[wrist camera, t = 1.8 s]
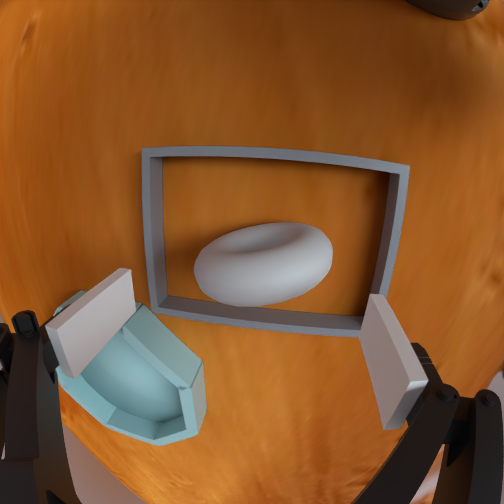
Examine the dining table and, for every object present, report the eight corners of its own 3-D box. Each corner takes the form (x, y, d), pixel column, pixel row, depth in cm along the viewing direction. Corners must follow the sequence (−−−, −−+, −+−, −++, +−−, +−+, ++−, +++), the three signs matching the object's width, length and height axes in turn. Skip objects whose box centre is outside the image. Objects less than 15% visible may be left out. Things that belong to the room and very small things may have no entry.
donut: (219, 264, 27) (180, 322, 17) (210, 228, 26) (164, 272, 16) (328, 249, 25) (344, 306, 15) (323, 211, 24) (340, 249, 14)
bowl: (200, 312, 29) (185, 337, 25) (209, 435, 37) (202, 457, 32) (47, 281, 32) (26, 295, 27) (87, 397, 39) (75, 413, 35)
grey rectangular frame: (399, 164, 21) (409, 165, 19) (369, 323, 27) (374, 337, 24) (155, 147, 24) (141, 147, 22) (161, 300, 29) (151, 312, 27)
